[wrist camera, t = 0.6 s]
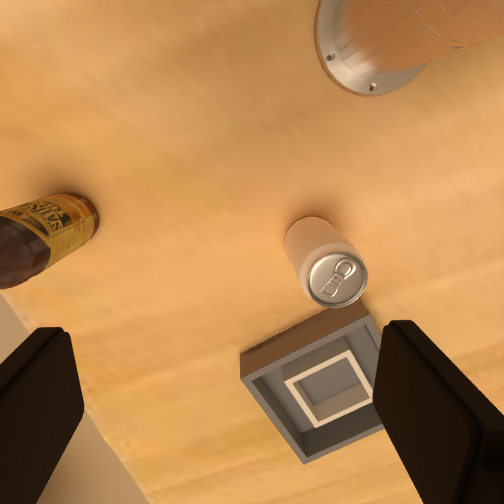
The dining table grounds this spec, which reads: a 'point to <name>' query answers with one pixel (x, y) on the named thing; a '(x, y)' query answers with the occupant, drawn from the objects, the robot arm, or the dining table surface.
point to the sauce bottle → (42, 235)
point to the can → (325, 263)
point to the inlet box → (318, 380)
